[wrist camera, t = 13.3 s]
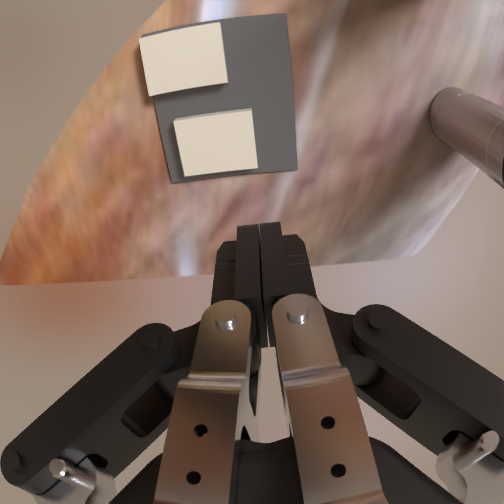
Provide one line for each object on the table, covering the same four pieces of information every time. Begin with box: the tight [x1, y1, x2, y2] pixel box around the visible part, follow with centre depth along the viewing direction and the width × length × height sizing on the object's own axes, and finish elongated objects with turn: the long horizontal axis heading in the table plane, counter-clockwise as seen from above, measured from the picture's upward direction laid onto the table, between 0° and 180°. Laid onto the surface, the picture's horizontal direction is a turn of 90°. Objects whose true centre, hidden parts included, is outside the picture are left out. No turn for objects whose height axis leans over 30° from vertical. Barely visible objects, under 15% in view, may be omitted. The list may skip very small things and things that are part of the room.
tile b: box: [173, 108, 258, 176], centre depth 40 cm, size 2×8×10 cm
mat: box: [142, 14, 297, 183], centre depth 37 cm, size 18×22×1 cm
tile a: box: [139, 22, 228, 96], centre depth 33 cm, size 2×8×10 cm
